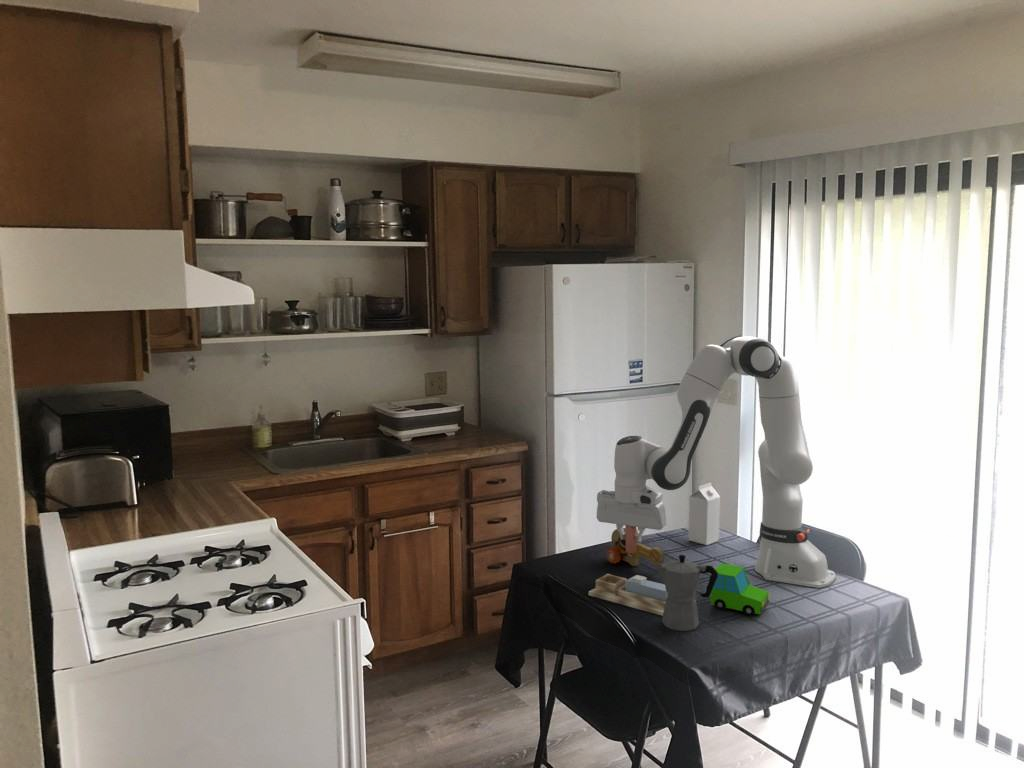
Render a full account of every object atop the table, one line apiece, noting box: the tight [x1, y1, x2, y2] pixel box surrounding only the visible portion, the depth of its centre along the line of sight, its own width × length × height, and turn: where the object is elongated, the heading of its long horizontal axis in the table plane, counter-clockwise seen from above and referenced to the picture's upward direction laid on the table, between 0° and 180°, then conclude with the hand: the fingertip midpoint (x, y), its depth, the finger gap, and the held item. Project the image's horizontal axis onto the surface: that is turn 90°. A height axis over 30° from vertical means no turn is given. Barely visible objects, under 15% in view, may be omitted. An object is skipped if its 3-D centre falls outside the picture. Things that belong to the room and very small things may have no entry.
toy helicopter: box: [606, 527, 666, 567], centre depth 252 cm, size 8×21×14 cm, turn 37°
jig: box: [588, 573, 666, 617], centre depth 229 cm, size 23×12×4 cm, turn 52°
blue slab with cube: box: [625, 574, 668, 602], centre depth 226 cm, size 12×4×5 cm, turn 52°
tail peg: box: [624, 525, 637, 553], centre depth 241 cm, size 3×3×8 cm
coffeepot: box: [654, 554, 718, 632], centre depth 211 cm, size 15×9×18 cm, turn 80°
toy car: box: [710, 562, 771, 617], centre depth 222 cm, size 10×13×10 cm
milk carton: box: [687, 482, 721, 546], centre depth 275 cm, size 7×7×19 cm
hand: (630, 540), depth 241 cm, fingers closed on tail peg, 3 cm apart
